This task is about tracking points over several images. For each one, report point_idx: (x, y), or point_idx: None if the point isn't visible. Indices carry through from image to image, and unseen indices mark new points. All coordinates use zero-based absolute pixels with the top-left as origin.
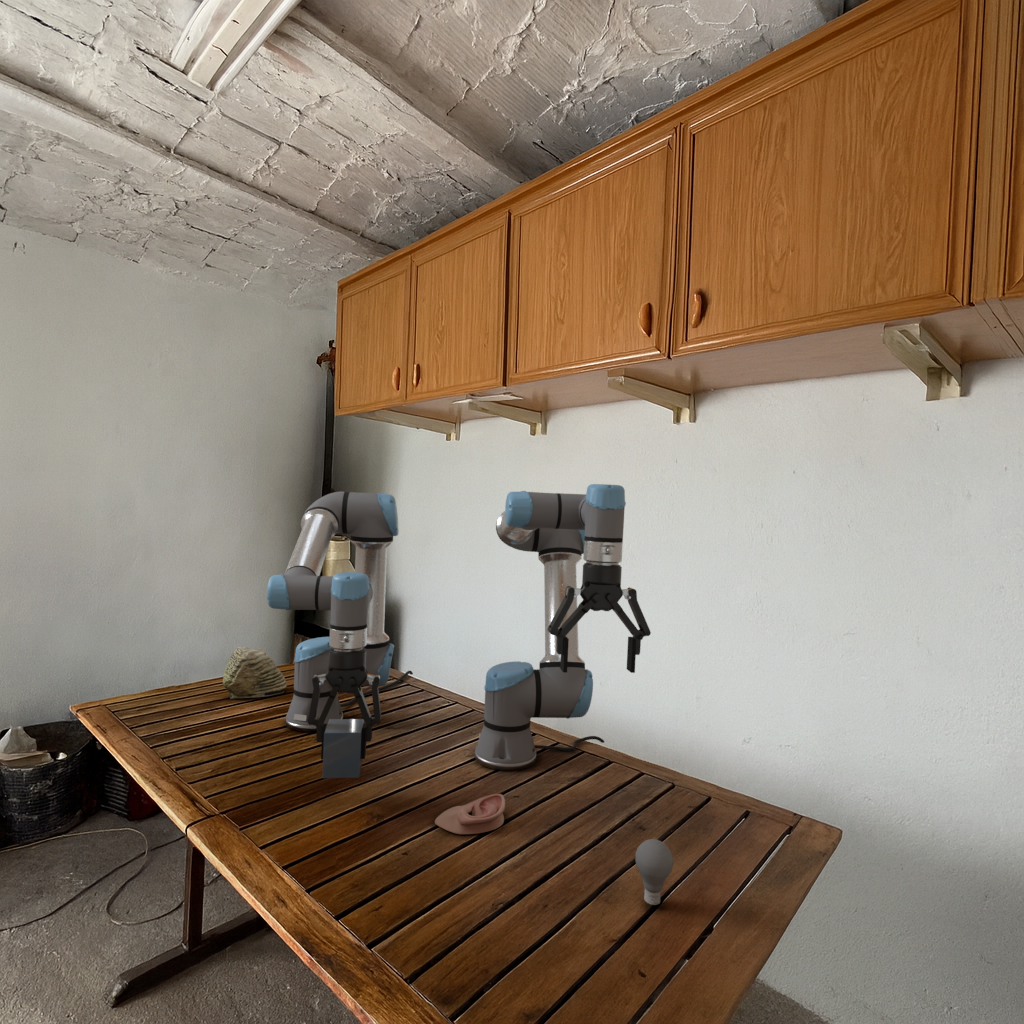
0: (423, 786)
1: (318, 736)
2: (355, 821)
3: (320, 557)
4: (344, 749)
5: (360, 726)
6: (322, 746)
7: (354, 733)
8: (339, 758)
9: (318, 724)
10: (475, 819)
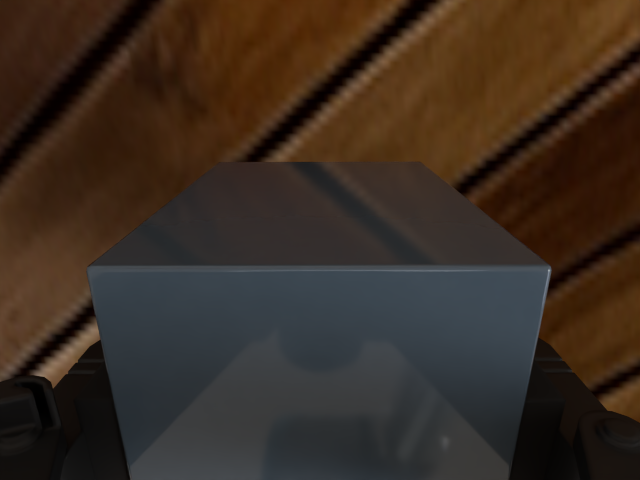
0: (31, 310)
1: (548, 364)
2: (244, 40)
3: None
4: (298, 204)
5: (141, 432)
6: None
7: (172, 260)
8: (335, 186)
9: (638, 439)
10: None
